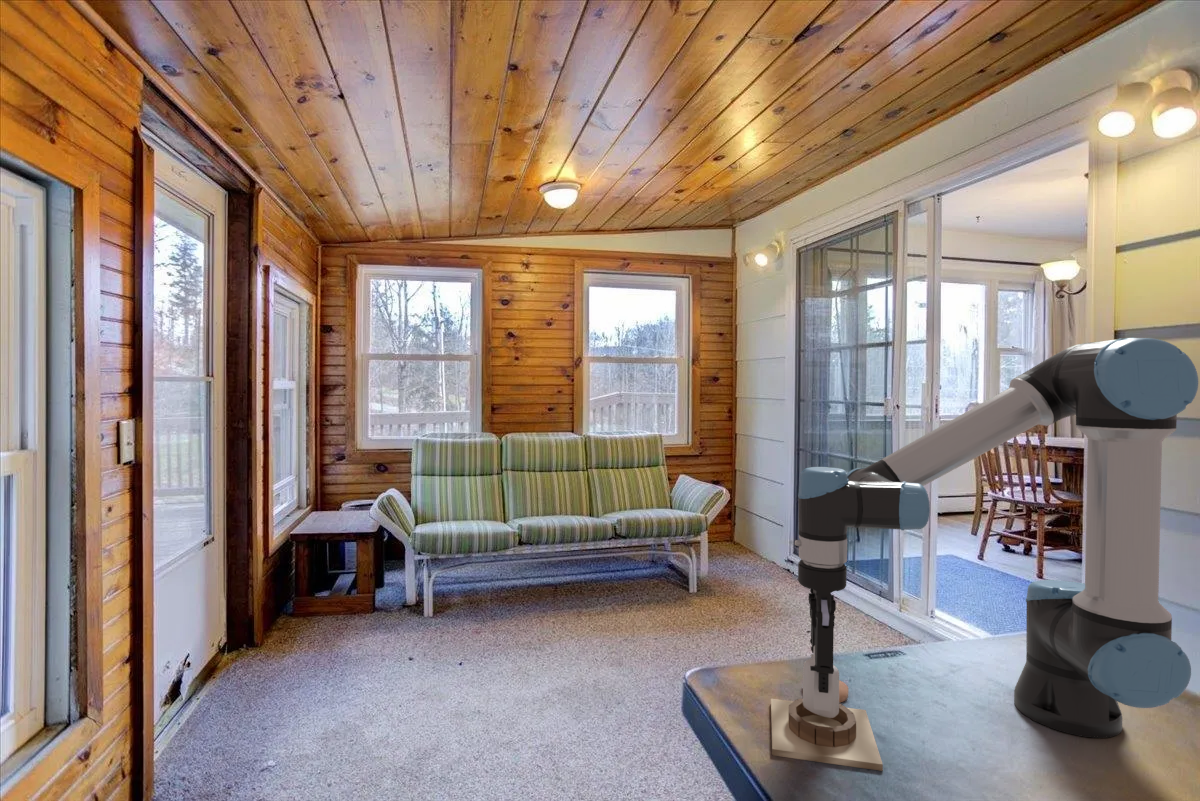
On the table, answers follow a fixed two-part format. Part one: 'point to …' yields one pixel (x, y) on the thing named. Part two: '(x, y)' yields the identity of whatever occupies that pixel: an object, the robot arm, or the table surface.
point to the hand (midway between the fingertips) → (821, 700)
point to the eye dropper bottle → (809, 689)
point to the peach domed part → (843, 692)
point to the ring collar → (823, 735)
